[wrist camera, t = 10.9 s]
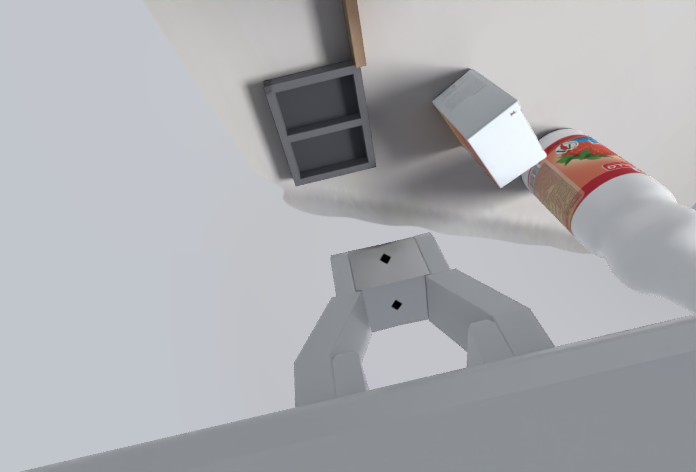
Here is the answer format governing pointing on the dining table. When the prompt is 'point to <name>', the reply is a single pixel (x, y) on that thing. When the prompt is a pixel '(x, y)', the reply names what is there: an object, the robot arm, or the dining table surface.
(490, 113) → the small box
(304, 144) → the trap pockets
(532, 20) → the dining table surface
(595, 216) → the fruit juice
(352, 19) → the lane walls
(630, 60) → the dining table surface
